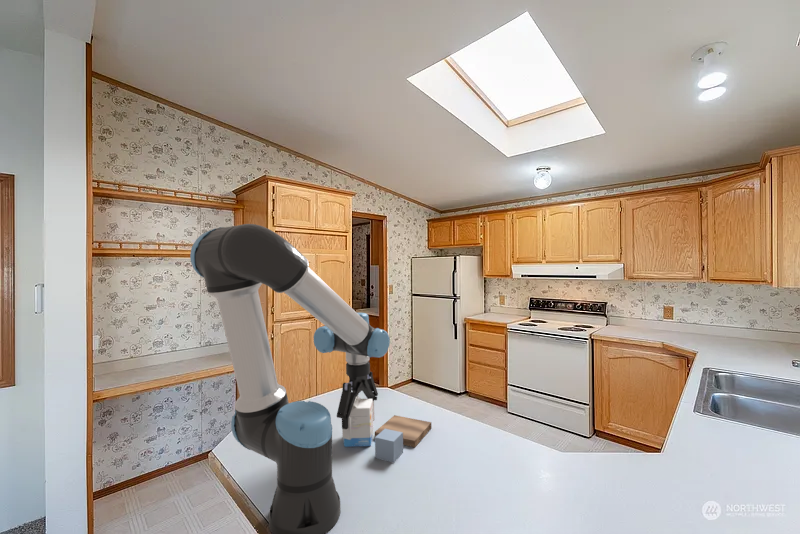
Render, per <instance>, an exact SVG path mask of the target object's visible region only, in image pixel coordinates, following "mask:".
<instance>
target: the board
mask: <svg viewBox="0 0 800 534" xmlns="http://www.w3.org/2000/svg"><path fill="white" fill-rule="evenodd" d="M384 429H389V430H394V431H399V432H403V446H407V447H410V448H416V447H417V446H418V445H419V443H420V442H421V441H422V440H423V439H424V438H425V437H426V435H427V434H428V433H429V432H430V431H431V429H432V421H426V420H422V419H416V418H411V417H407V416H401V415H395V414H394V415H392V416H391V417H390V419H388V420H387V421H386V422H385V423H384V424H381V426H380V427H379V428H378V429H376V430H375V431H374V438H375V437H376V436H377V435H378V434H379V433H381V432H382V431H383V430H384Z"/></svg>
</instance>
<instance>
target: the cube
mask: <svg viewBox="0 0 800 534" xmlns="http://www.w3.org/2000/svg"><path fill="white" fill-rule="evenodd" d="M374 450H375V451H374V458H375V459H377V460H382V461H386V462H389V463H395V462H396V461H397V460H398V459H399V458H400V456H401V455H403V454H404V445H403V432H399V431H394V430H389V429H384V430H383V431H382V432H381V433H379V434H378V435H377V436H376V437H375V436H374Z"/></svg>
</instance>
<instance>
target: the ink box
mask: <svg viewBox="0 0 800 534" xmlns="http://www.w3.org/2000/svg"><path fill="white" fill-rule="evenodd" d="M346 414H347V413H346ZM349 417H351V439H350V440H349V439H345V438H343V446H344V447H345V448H349V447H352V448H353V447H371V445H372V442H373V437H374V421H373V399H367V398H361V397H360V396H359V395H358V396H357V397H356V398H355V401H354V404H353V407H352V410H351V413H350V416H349Z"/></svg>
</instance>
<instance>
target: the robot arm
mask: <svg viewBox="0 0 800 534" xmlns="http://www.w3.org/2000/svg"><path fill="white" fill-rule="evenodd" d="M189 254H190V263H191V267H192V268H193V270H194V272H196V274H198V275H199V276H200V277H201V278H203V279H204V283H205V287H206V292H207V294H208V295H210V296H212V297H214V298H215V299H216V300H217V304H218V307H219V311H220V316H221V320H222V325H223V329H224V333H225V338H226V342H227V345H228V346H227V347H228V351H229V355H230V359H231V364H232V367H233V368H232V369H233V372H234V376H235V380H236V384H237V385H236V386H237V390H238V393H239V397H238V398H237V399H236V401H235V403H234V408H235V409H234V415H232V417H231V423H230V426H231V427H230V428H231V432H232V435H233V437H234V439H235V440H236V441H237V442H238V443H239V444H240V446H242V447H244V448H245V449H247V450H250V451H252V452H255V453H257V454H258V455H261V456H263V457H265V458H267V459H269V460H270V461H273V462H275V463H276V484H277V485H276V488H275V491H274V495H273V498H272V501H271V505H270V507H269V513H268V527H269V531H270V532H271V534H326V533H327V532H328V531H330V530H331V529H332V528H333V527H334V526H335V525H336V523H337V522H338V520H339V519H340V516H341V499H340V494H339V492H338V491H337V488H336V485H335V481H334V478H333V425H332V416H331V414H330V411H329V409H328V408H327V407H326V406H325V405H323V404H321V403H318V402H315V401H311V400H309V401H305V400H298V401H292V402H289V398H288V393H287V390H286V387H284V385H281V384H279V383H278V379H277V373H276V370H275V369H276V368H275V365H274V360H273V355H272V350H271V345H270V340H269V335H268V331H267V326H266V322H265V318H264V317H265V316H264V312H263V309H262V303H261V298H260V294H259V289H260V288H261V286H262V285H265V286H267V287H268V288H270V289H271V290H272V291H273V292H275V293H277V294H282V293H284V294H285V295H287V296H288V297H289V298H290V299H292V300H293V301H294V302H295V303H296V304H298V305H299V306H300V307H301V308H302V309H304V310H305V311H306V312H308V313H309V314H310V315H311V316H313V317H314V318H315V319H316V320H318V322H320V323H321V324H323V326H319V327H318V328H317V329H316V330H315V331H314V333H313V345H314V347H315V349H316V350H317V351H318V352H319V353H322V354H325V353H331V352H333V351H334V352H341V353H345V361H346V364H345V373H346V374H345V375H346V376H347V377H348V379H349V380H348V382H343V383H342V390H341V391H342V392H341V396H340V399H339V403H338V408H337V412H336V418H338V419H341V429H342V433H341V434H342V435H341V437H342V439H344V438H345V439H349V440H350V439H351V417H349V416H350V413H351V410H352V407H353V404H354V401H355V398H356V397H357V396H358V397H359V393H361V392H362V393H363V394H364V396H365V397H366V399H373V422H374V421H375V401H378V395H379V393H378V390H377V386H376V383H375V380H374V376H373V374H374V373H373V371H371V363H370V358H383V357H384V356H386V354H387V353H388V351H389V348H390V344H391V342H390V341H391V339H390V335H389V333H388V332H387V331H386V330H384V329H383V328H382V329H381V328H379V327H376V328H375V327H373V326H371V325H370V320H369V319H370V317H369V314H368V313H366V312H356V311H355V309H354V308H352V306H350V305H349V304H348V303H347V302H346V301H345V300H344V299H343V298H342V297H341V296H340V295H339V294H338V293H337V292H335V290H333V288H331V287H330V286H329V285H328V284H327V283H326V282H325V281H324V280H323V279H322V278H321V277H320V276H318V275H317V273H316V272H315V271H314V270H312V269H311V267H309V259H308V258H307V257H306V256H304V255H303V253H301V251H300V250H298V249H297V248H296V247H295V246H294V245H293V244H291V243H290V242H289V241H288V240H286V239H285V238H284V237H282V236H281V235H279V234H278V233H277V232H275V231H273V230H272V229H270V228H267V227H266V226H264V225H259V224H256V223H255V224H254V223H243V224H240V225H232V226H226V227H224V226H222V227H215V228H212V229H211V230H208V231H205V232H203V233H202V234H200V235H199V236H198V237H197V238H196V239H195V241H194V242H193V244H192V246H191V250H190V253H189ZM346 413H347V414H346Z"/></svg>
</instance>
